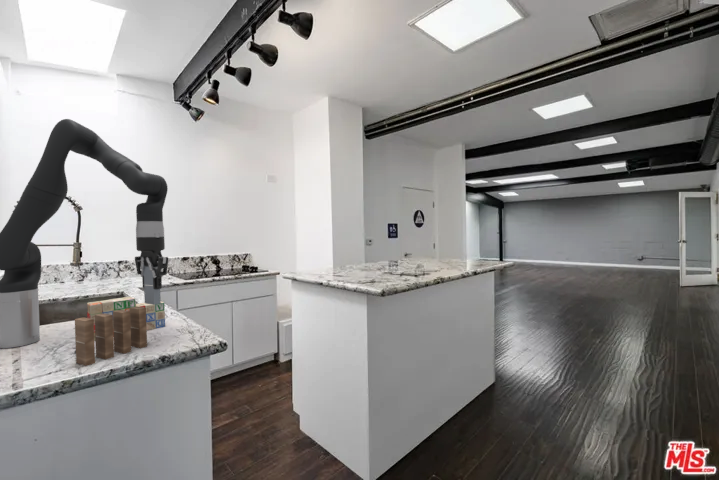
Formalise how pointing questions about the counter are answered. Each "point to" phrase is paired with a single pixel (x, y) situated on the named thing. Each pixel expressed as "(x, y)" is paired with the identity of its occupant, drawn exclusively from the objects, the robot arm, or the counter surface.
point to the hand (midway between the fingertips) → (152, 288)
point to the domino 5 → (150, 288)
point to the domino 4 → (138, 327)
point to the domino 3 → (122, 331)
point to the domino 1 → (84, 341)
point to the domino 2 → (104, 336)
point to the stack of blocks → (153, 312)
